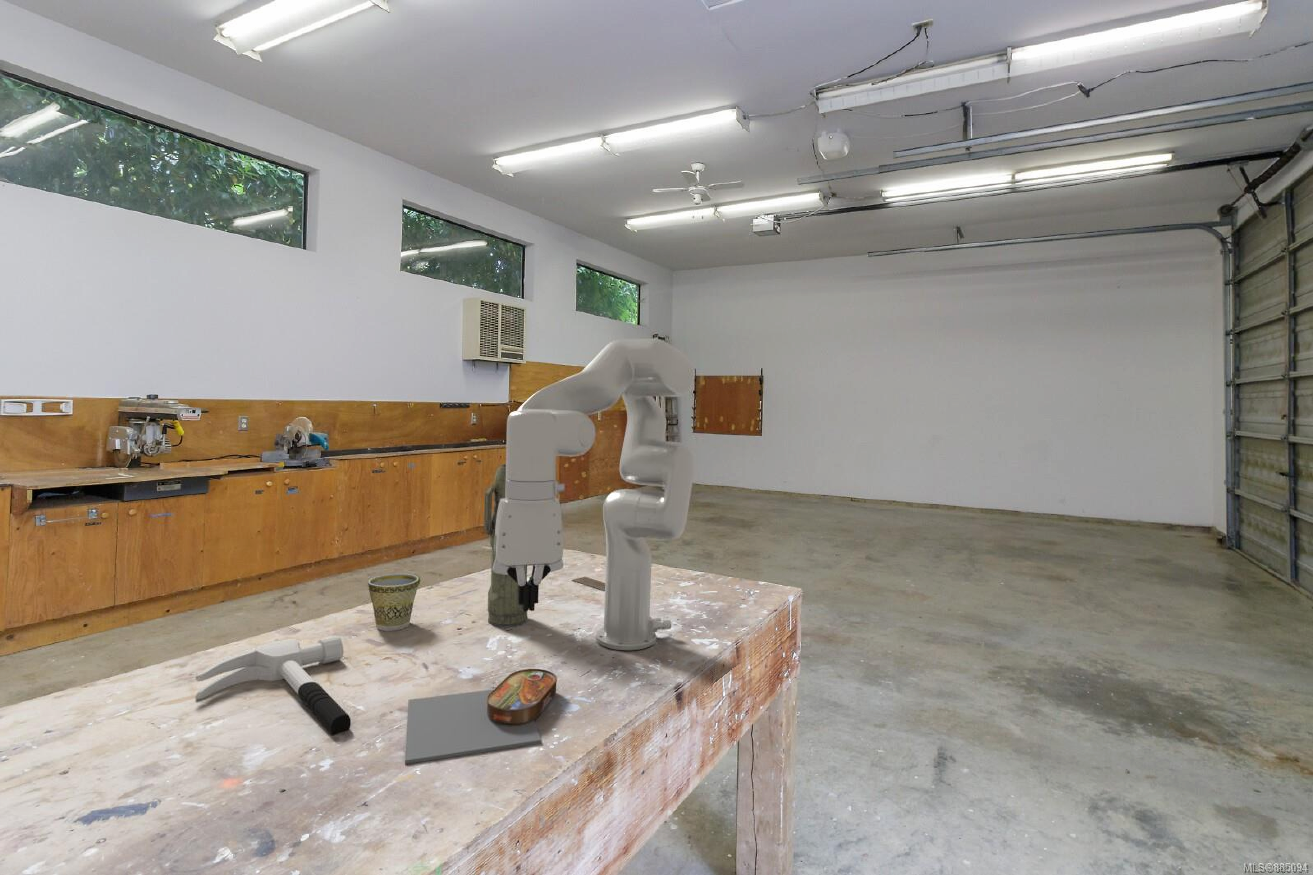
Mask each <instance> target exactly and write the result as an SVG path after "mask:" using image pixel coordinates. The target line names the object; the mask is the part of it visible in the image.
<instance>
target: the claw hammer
mask: <svg viewBox="0 0 1313 875" xmlns="http://www.w3.org/2000/svg"><path fill="white" fill-rule="evenodd" d="M343 656H344V644H343V641H342V638H341V637H340V636H339V635H333V636H329V637H326V638H321V639H319V640H318V641H317V642H316V643H314V644H311V645H305V646H302V647H301V645H300V641H298V640H297V639H295V638H287V639H282V640H279V641H278V640H277V641H273V642H268V643H263V644H260V645H257V646H255V647H254V648H249V649H246V650H242V651H239V652H237V653H234V654H232V655H229V656H227V657H225V658H222V659H221V660H219V661H216V662H214V663H212V664H211V665H209V666H208V667H206V668H205V669H203V670H202V671H201V672H200V671H199V673H197V674H196V676H195V681H196V682H203V681H206V680H209V679H212V678H213V677H216V676H218V675H221V674H224V673H227V672H229V673H227V674H224V675H222V676H220V677H218V678H216V679H215V680H213V681H212V682H210V683H208V684H207V685H205V686H203V688H201V689H200V690H199V691H198V692H197V693H196V694H195V696H194V697H195V701H197V700H203V699H205V698H206V696H207V697H209V696H210V695H212V694H214V693H217V692H219V691H221V690H223V689H225V688H228V687H232V686H234V685H238V684H241V682H242V683H244V682H249V681H257V679H259V681H268V682H274V681H275V682H276V681H281V680H285V681H286V682H287V683H288V685H290V686H291V688H292V689H293V690H294V692H295V693H296V694H297V695H298V697H299V698H300V700H301V701H302V702H303V704H305V706H306V707H307V708H308V709H309V710H310V711H311V713H312V714H313V715H314V716H315V718H317V720H318V721H319V722H320V723H321V724H322V725H323V727H324V728H325V729H326V730H327V732H328V733H330V735H331V736H335V735H338V734H341V733H344V732H345V733H346V732H348V731H350V728H351V726H352V725H351V724H352V722H351V716H350V715H349V714H348V712H346V711H345V710H344V709H343V708H342V707H341V705H339V704H338V702H337V701H335V699H333V697H332V696H331V695H330V694H329V693H328V692H327V691H326V690H325V689H324V688H323V686H321V685H320V683H318V682H316V680H314V679H313V678H312V677H311V675H309V674H308V672H306V670H304V669H303V667H304V666H306V665H310V664H311V665H312V664H315V663H320V664H321V665H325V664H329V663H333V662H336V661H340V660H341V659H342V658H343ZM204 697H205V698H204Z"/></svg>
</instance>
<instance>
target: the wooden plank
mask: <svg viewBox="0 0 1313 875" xmlns="http://www.w3.org/2000/svg"><path fill="white" fill-rule="evenodd" d="M571 580H572V581H571V582H574V583H576V582H577V584H579V583H580V584H579V585H583V586H586V587H588V588H592V589H595V590H599V591H602V592H604V591H605V582H603V581H599V580H596V579H593V578H591V577H588V576H582V577H577V578H574V579H571Z"/></svg>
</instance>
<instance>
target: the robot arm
mask: <svg viewBox="0 0 1313 875" xmlns="http://www.w3.org/2000/svg"><path fill="white" fill-rule="evenodd" d="M695 378H696V376H695V370H694V367H693V364H692V361H691V360H690V359H689V358H688V357H687V356H686V355H685V354H684V353H683V352H681V351H680V350H679V349H678V348H676V347H675V346H673V345H672V344H670V343H668V342H667V341H665V340H662V339H659V338H621V339H616V340H613V341H611V342H609V343H608V344H606V346H605V347H604V348H602V350H600V351H599V353H598V354H597V355H596V356H595V357H594V358H593V359H592V360H591V361H590V362H589V363H588V364H587V365H586V366H585V367H584V368H583V369H582V370H581V371H580V372H579V373H575V374H573V375H570V376H568V377H565V378H564V379H562V380H561V379H560V380H559V381H557V382H554V383H552V384H550V385H547V386H545V387H543V388H542V389H539V390H538V391H536V392H535V393H534V394H532V395H531V396H530V397H528V399H527V400H525V402H524V403H523V404H521V406H520V407H519V408H518V409H517V410H514V411H512V412H511V413H509V415H508V416H507V420H506V442H505V443H506V448H505V449H506V450H505V453H506V454H505V464H506V486H505V498H503V499H500V502H499V506H498V511H497V518H496V527H495V541H494V555H495V561H494V565H493V571H494V572H495V573H499V574H504V575H509V576H510V577H511V578H512V579H513V580H515V581H516V582H517V583H518V595H517V602H518V605H521V607H522V609H523V611H524V612H525V611H527V610H528V611H530V612H534V611H535V604H539V592H540V591H539V590H540V588H539V587H540V584H541V583H542V581H543V580H544V579H545V578H546V577H547V576H548V575H549V573H552V572H556V571H560V570H562V569H564V562H563V558H564V557H563V556H564V533H563V520H562V519H563V518H562V511H561V510H562V509H561V504H560V500H559V498H558V497H557V495H558V494H559V493H560V492H561V493H562V492H563V493H564V492H565V488H566V487H565V483H564V482H563V483H562V482H561V483H560V482H558V481H557V479H556V471H557V470H556V468H557V467H556V466H557V464H556V463H557V456H560V457H578V456H581V455H584V454H586V453H587V452H588V451H589V450H590V449H591V448H592V446H593V445H594V443H595V440H596V427H595V424H594V422H593V420H592V418H591V417H589V416H590V415H593V414H597V413H600V412H604V411H606V410H609V409H610V408H612V407H614V406H615V405H616V403H618V401H619V400H620V398H621V397H622V400H623V403H624V406H625V409H626V418H627V420H626V426H625V433H624V439H623V444H622V449H621V454H620V460H619V474H620V477H621V479H622V480H624V482H627V483H630V484H635V485H640V486H652V487H661V488H664V492H663V491H662V492H661V491H651V490H643V489H631V488H621V489H616V490H614V491H612V492H611V493H609V494H608V495H607V496H606V498H605V500H604V501H603V506H602V518H603V525H604V529H605V530H604V531H605V545H606V547H605V548H606V549H605V553H606V555H605V582H604V583H605V592H604V608H603V609H604V611H603V612H604V613H603V614H604V616H603V627H602V628H600V629H598V630H597V631H596V634H595V641H597V644H599V645H601V646H603V647H605V648H608V649H612V650H618V651H636V650H638V651H639V650H643V649H646V648H650V647H651V646H653V645H654V644H655V643H656V642H657V632H658V631H659V630H662V631H663V630H670V629H671V628H672V621H671V619H663V620H662V619H661V617H655V618H652V617H651V616H650V615H651V612H650V610H651V588H652V587H651V585H652V565H653V564H652V563H653V561H652V560H653V559H652V554H651V550H650V548H649V546H648V544H647V542H646V540H645V539H646V538H647V539H654V540H662V541H675V540H677V539H679V538H680V537H681V536H682V534H683V533H684V530H685V528H686V524H687V519H688V515H689V514H688V513H689V507H690V500H691V493H692V489H693V484H694V483H693V482H694V474H695V458H694V454H693V451H692V449H691V448H690V447H689V446H688V445H686V444H685V443H683V442H678V441H677V442H676V441H667V440H666V441H665V438H666V437H665V436H666V430H667V419H666V416H665V413H664V411H663V409H662V408H661V406H660V405H659V403H657V401H656V399H655V398H654V397H665V398H666V397H667V398H669V397H670V398H671V397H672V398H680V397H684V396H686V395H688V394H690V392H691V391H692V389H693V387H694V384H695ZM588 415H589V416H588ZM513 566H514V567H513ZM524 566H527V567H529V566H532V567H531V572H530V577H529V579H527V580H526V578H525V571H524ZM528 611H527V612H528Z"/></svg>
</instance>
